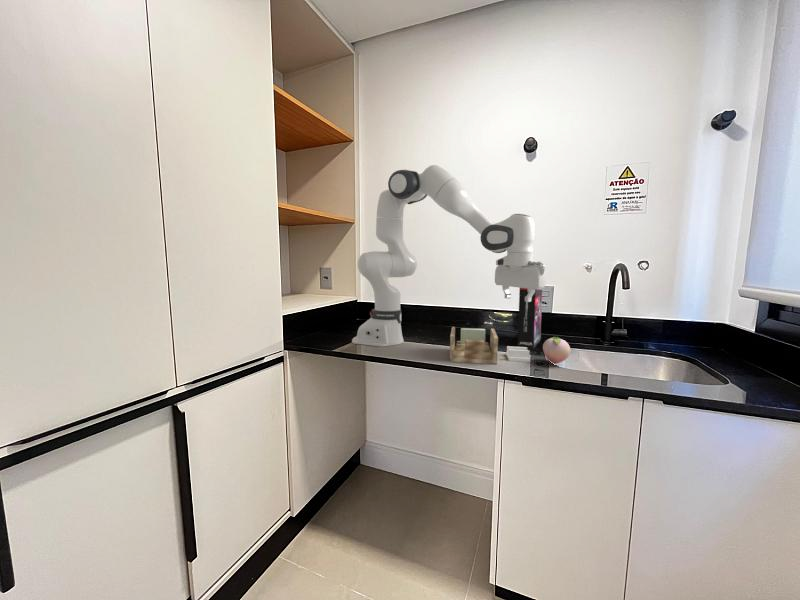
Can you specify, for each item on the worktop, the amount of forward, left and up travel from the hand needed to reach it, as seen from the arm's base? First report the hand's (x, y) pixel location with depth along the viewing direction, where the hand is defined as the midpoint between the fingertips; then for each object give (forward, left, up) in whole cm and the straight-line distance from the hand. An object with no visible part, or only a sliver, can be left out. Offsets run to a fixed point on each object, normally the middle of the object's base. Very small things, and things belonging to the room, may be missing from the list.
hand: (517, 299), depth 118 cm
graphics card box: (+9, +22, -22) cm, 32 cm away
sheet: (-15, +3, -20) cm, 25 cm away
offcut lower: (-15, -8, -20) cm, 26 cm away
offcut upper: (-15, -8, -17) cm, 24 cm away
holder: (+1, -1, -21) cm, 21 cm away
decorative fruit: (+13, -5, -21) cm, 26 cm away
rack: (-15, -2, -21) cm, 26 cm away
